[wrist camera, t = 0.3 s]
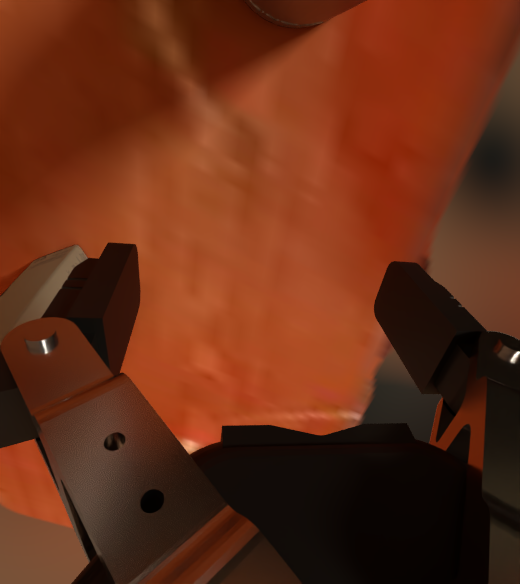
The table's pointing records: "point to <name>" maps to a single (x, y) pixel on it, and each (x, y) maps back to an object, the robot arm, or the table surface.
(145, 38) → the table surface
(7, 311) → the box
